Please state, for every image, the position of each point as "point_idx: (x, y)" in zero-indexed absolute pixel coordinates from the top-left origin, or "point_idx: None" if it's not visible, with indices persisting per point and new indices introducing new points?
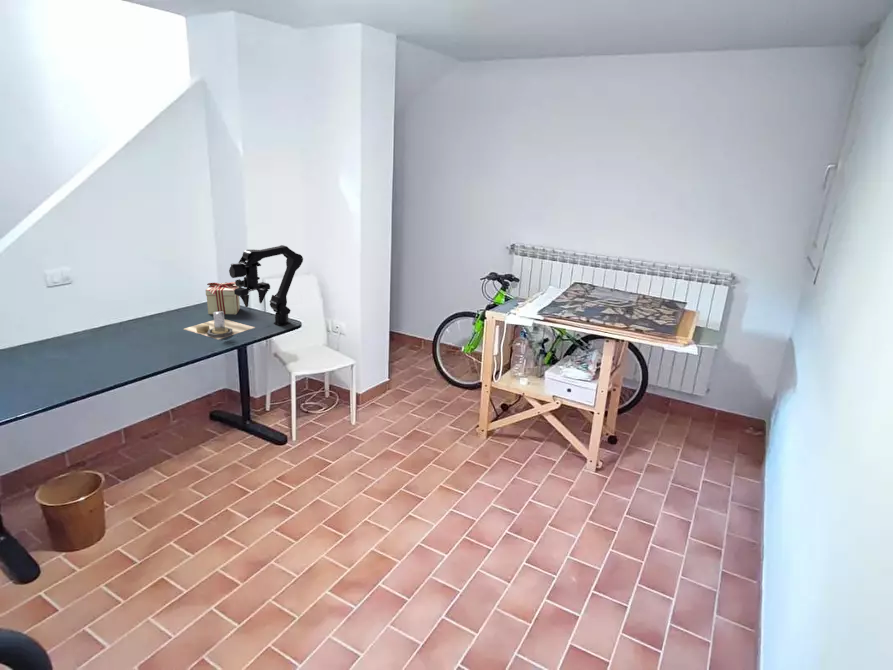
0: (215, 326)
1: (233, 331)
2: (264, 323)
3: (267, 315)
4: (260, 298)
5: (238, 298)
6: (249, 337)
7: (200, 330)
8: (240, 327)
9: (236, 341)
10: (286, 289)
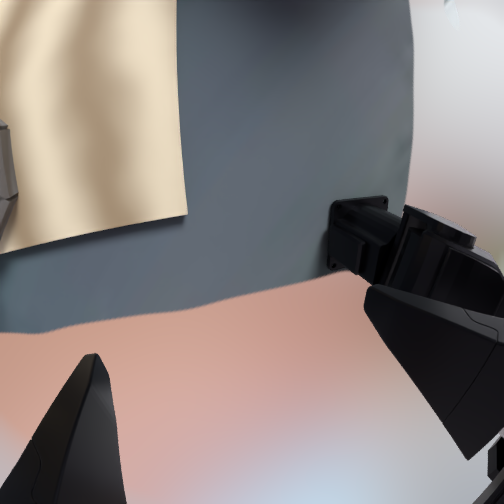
0: None
1: (25, 193)
2: (308, 150)
3: (402, 63)
4: (414, 343)
5: None
6: (76, 318)
7: None
8: (107, 138)
9: (5, 323)
10: None
